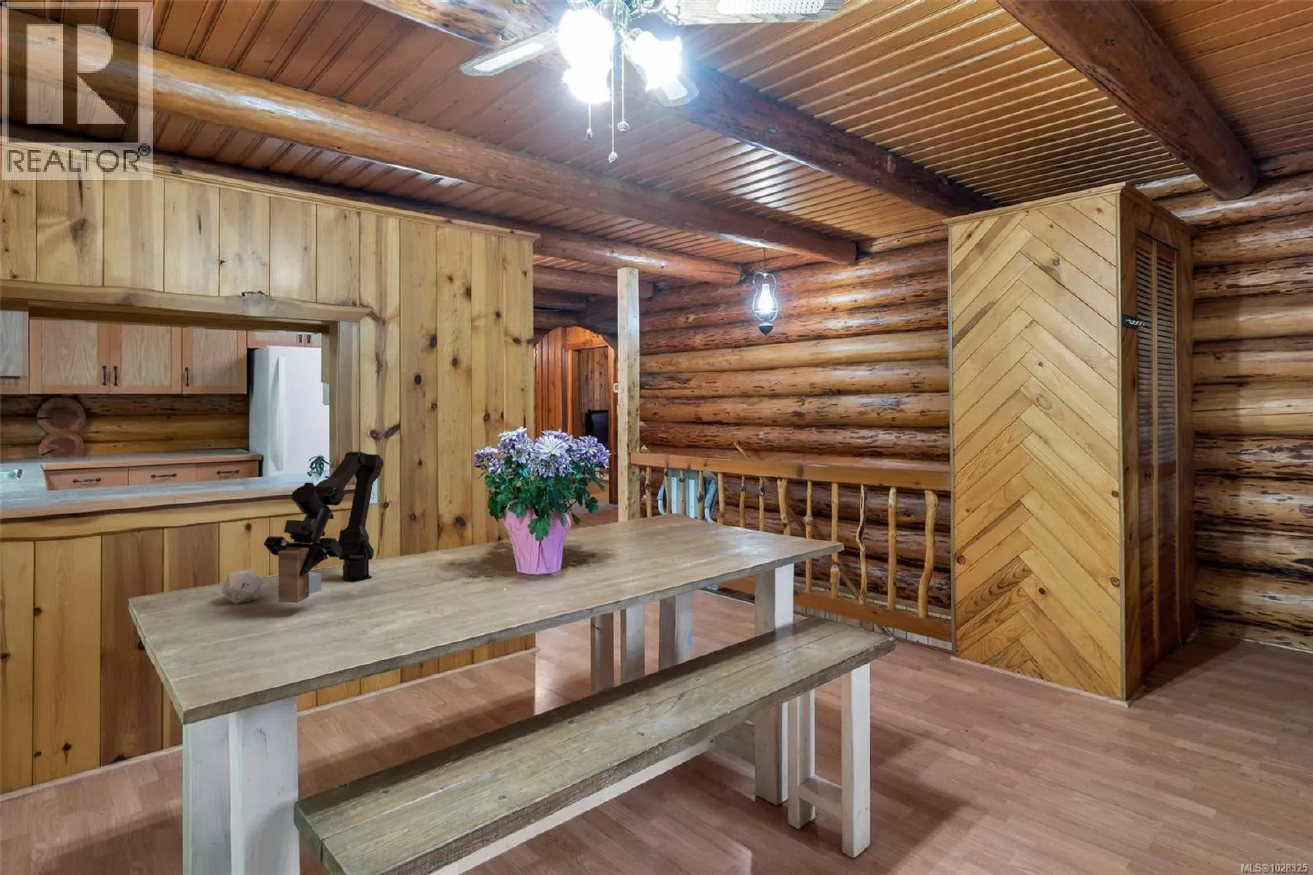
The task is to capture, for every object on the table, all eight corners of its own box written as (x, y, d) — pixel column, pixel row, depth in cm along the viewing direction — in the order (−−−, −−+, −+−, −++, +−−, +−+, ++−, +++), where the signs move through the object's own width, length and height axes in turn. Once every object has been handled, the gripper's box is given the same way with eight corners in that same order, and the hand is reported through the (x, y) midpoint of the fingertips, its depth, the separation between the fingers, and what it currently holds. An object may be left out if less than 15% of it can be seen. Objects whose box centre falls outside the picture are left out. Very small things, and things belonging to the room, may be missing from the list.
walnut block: (290, 595, 175) (290, 547, 174) (309, 596, 175) (308, 548, 174) (278, 601, 170) (278, 551, 169) (297, 602, 170) (297, 552, 169)
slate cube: (309, 588, 194) (309, 571, 194) (321, 590, 192) (320, 573, 192) (293, 592, 190) (293, 575, 190) (305, 595, 188) (305, 578, 187)
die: (214, 607, 178) (225, 581, 174) (224, 583, 185) (235, 558, 181) (249, 614, 182) (260, 589, 178) (258, 590, 189) (269, 566, 185)
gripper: (267, 506, 175) (239, 557, 165) (336, 508, 174) (312, 560, 164) (286, 529, 184) (261, 579, 173) (351, 531, 183) (330, 582, 172)
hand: (290, 575), depth 171 cm, fingers closed on walnut block, 5 cm apart
